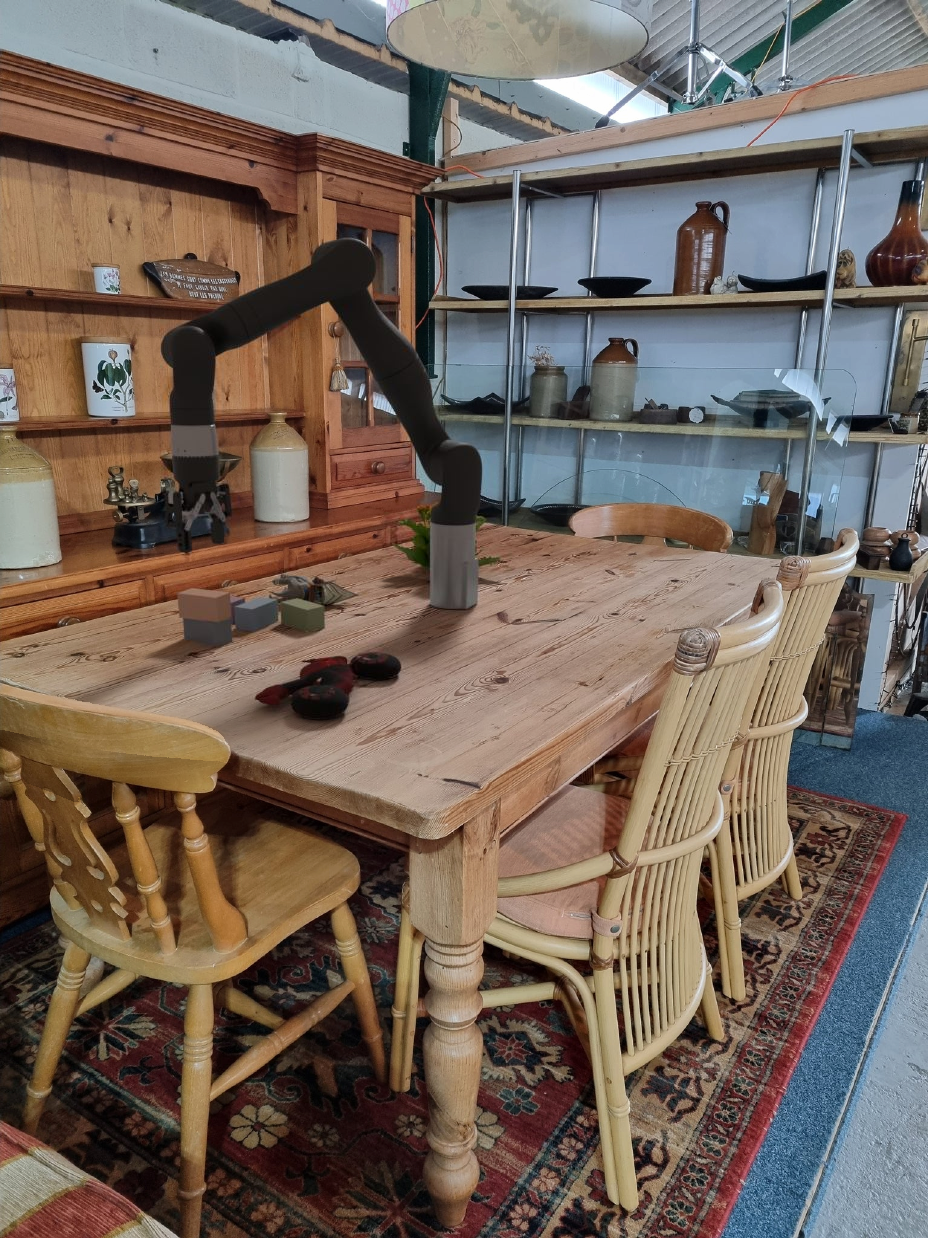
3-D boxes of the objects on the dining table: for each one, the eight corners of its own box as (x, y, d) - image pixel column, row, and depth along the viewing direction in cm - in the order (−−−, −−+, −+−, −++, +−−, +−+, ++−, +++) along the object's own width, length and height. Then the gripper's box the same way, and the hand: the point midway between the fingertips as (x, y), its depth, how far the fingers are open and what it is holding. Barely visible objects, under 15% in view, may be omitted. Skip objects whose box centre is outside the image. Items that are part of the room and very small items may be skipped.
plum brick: (246, 620, 168) (244, 597, 167) (233, 625, 164) (231, 602, 163) (212, 615, 171) (210, 593, 170) (198, 620, 167) (197, 597, 166)
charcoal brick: (232, 642, 154) (231, 618, 153) (214, 647, 151) (212, 623, 150) (202, 634, 158) (201, 610, 157) (184, 639, 155) (182, 615, 154)
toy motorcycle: (406, 680, 141) (321, 652, 145) (411, 650, 139) (324, 624, 144) (329, 741, 118) (230, 707, 123) (332, 707, 117) (232, 674, 121)
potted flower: (519, 571, 212) (521, 500, 207) (475, 591, 192) (477, 512, 187) (430, 560, 223) (430, 492, 218) (380, 578, 203) (379, 503, 198)
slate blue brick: (261, 619, 169) (260, 597, 167) (278, 621, 167) (277, 599, 166) (235, 629, 162) (234, 606, 160) (253, 632, 160) (252, 609, 159)
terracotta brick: (231, 616, 154) (229, 592, 152) (217, 622, 150) (215, 597, 149) (193, 611, 156) (191, 588, 155) (179, 617, 153) (177, 593, 152)
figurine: (300, 565, 191) (371, 573, 186) (300, 593, 192) (371, 600, 188) (253, 579, 172) (331, 587, 168) (253, 609, 174) (330, 618, 169)
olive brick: (324, 628, 163) (324, 606, 162) (307, 633, 160) (307, 610, 159) (298, 620, 168) (297, 598, 167) (281, 624, 165) (280, 602, 164)
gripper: (184, 457, 138) (192, 557, 142) (240, 449, 150) (245, 542, 155) (147, 454, 141) (156, 553, 145) (204, 448, 153) (211, 538, 158)
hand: (202, 547), depth 150 cm, fingers open, 8 cm apart
